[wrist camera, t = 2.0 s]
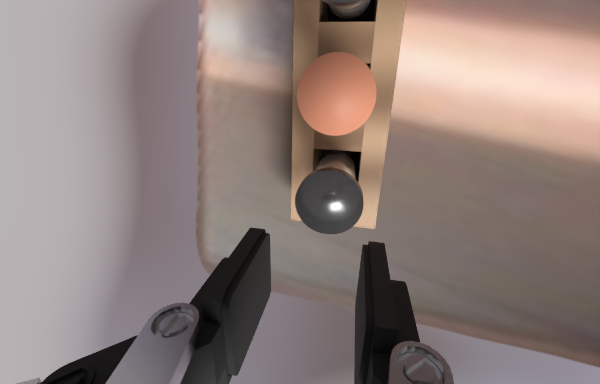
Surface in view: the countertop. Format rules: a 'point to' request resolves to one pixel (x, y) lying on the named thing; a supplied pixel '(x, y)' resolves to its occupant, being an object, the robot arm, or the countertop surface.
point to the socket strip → (383, 64)
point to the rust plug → (336, 93)
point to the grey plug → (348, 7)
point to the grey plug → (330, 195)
